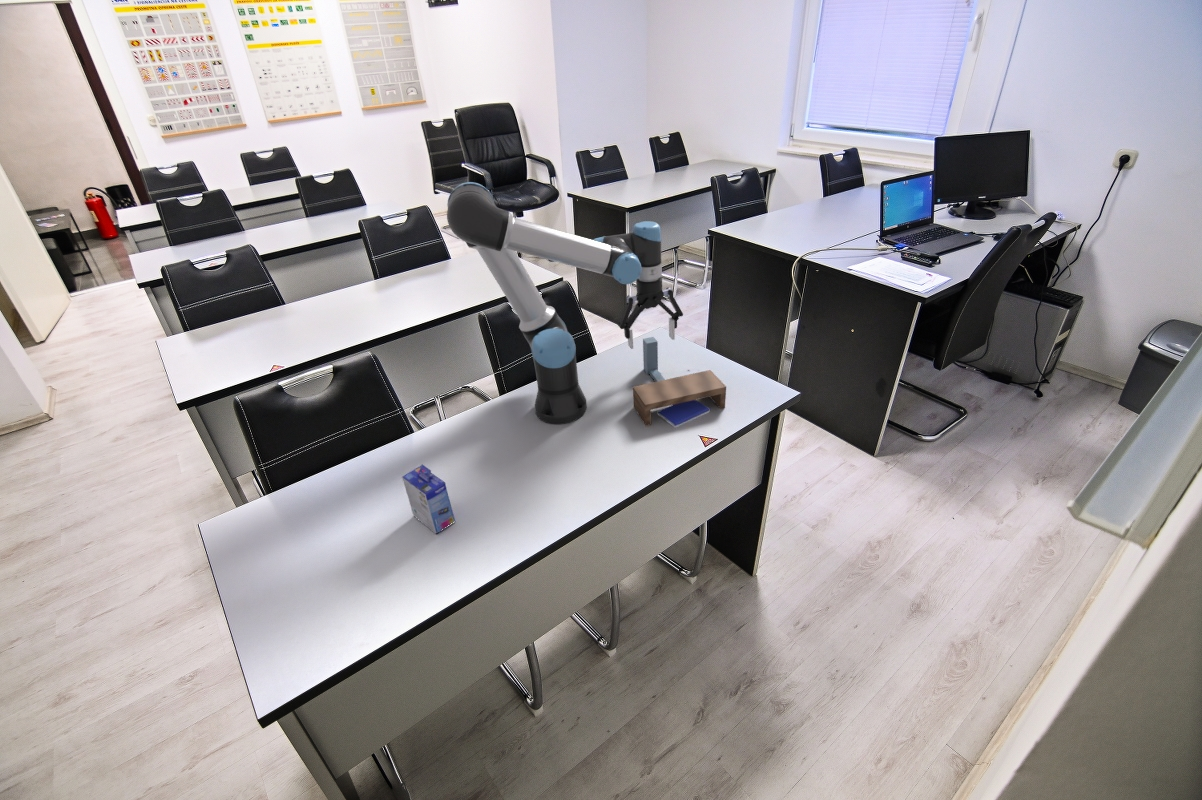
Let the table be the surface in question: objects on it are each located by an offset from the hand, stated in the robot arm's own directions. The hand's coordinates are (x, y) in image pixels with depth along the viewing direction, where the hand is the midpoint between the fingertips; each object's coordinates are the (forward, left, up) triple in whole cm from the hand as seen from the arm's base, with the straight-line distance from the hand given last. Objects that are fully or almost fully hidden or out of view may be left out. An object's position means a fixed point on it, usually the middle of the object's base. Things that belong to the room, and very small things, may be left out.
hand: (651, 342), depth 175 cm
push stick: (0, -8, -10) cm, 13 cm away
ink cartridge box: (-70, -43, -10) cm, 83 cm away
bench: (0, -22, -10) cm, 25 cm away
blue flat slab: (0, -25, -11) cm, 28 cm away
